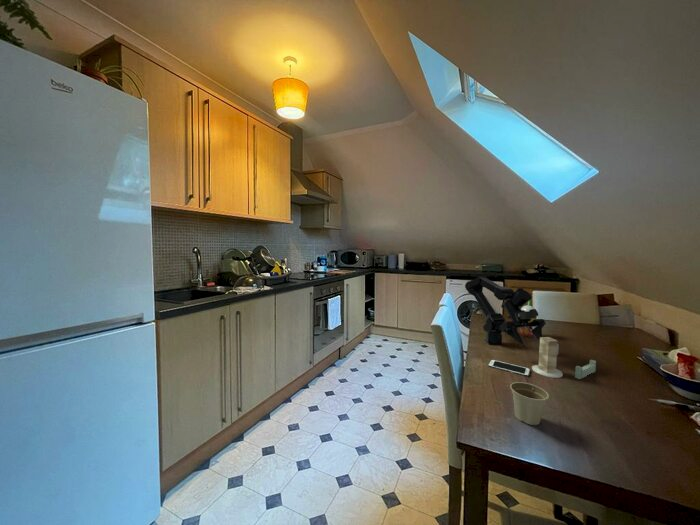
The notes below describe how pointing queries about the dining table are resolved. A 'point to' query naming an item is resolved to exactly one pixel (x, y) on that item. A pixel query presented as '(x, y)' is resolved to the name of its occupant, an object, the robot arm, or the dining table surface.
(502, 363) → the cell phone
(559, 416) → the dining table surface
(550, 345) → the beech block
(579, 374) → the fence
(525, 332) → the smoothie
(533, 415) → the flower pot
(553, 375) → the coaster
